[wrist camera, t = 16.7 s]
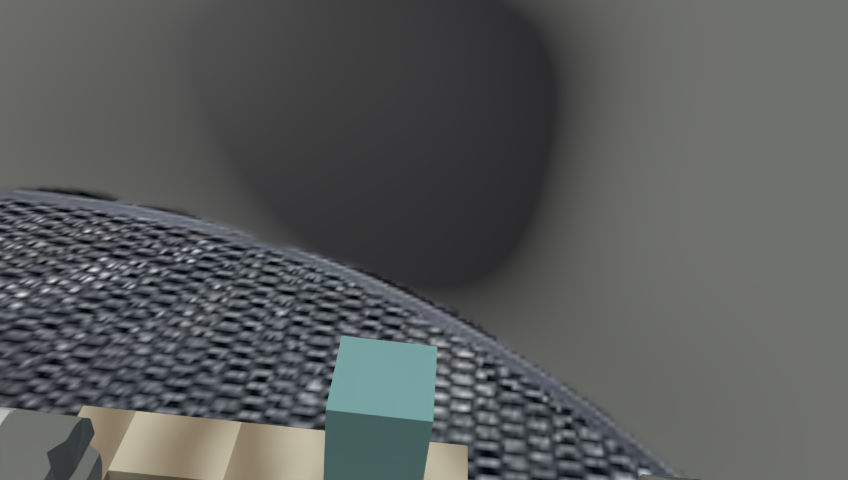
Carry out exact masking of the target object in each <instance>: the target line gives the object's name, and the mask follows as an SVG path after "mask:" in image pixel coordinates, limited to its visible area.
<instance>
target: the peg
mask: <svg viewBox="0 0 848 480" xmlns="http://www.w3.org/2000/svg"><path fill="white" fill-rule="evenodd" d="M436 359H437V347H435V346H426V345H417V344H408V343H400V342H391V341H382V340H373V339H364V338H356V337H347V336H342V337H341V342H340V347H339V351H338V356H337V361H336V365H335V370H334V375H333V379H332V384H331V389H330V393H329V398H328V402H327V407H326V421H325V449H324V477H323V480H423V479H424V473H425V467H426V461H427V455H428V449H429V443H430V437H431V431H432V425H433V413H434V395H435V377H436Z"/></svg>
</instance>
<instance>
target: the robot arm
mask: <svg viewBox="0 0 848 480" xmlns="http://www.w3.org/2000/svg"><path fill="white" fill-rule="evenodd" d="M94 434H95V432H94V428H93V425H92V422H91V419H90V418H83V417H76V416H68V415H60V414H52V413H44V412H37V411H29V410H21V409H13V408H4V407H0V480H102V460H101V456H100V453H99V452H98V451H97V450H96V449H95V448H93V447H92V446H91V445H90V442H91V440H92V438H93V436H94ZM637 480H700V479H689V478H678V477H667V476H656V475H644V474H643V475H641V476H640V477H639V478H637Z"/></svg>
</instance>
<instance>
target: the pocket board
mask: <svg viewBox="0 0 848 480" xmlns="http://www.w3.org/2000/svg"><path fill="white" fill-rule="evenodd" d="M77 417H83V418H90V419H91V422H92V425H93V428H94V432H95V434H94V436H93V438H92V440H91V442H90V445H91V446H92V447H93V448H95V449H96V450H97V451H98V452H99V453H100V456H101V460H102V480H323V477H324V449H325V431H321V430H311V429H301V428H292V427H282V426H273V425H263V424H254V423H244V422H235V421H225V420H216V419H206V418H197V417H187V416H177V415H168V414H158V413H149V412H139V411H130V410H120V409H111V408H101V407H92V406H83V407H82V409H81V411H80V413H79V415H78V416H77ZM423 480H468V459H467V446H464V445H454V444H445V443H435V442H430V443H429V449H428V455H427V461H426V467H425V473H424V479H423Z"/></svg>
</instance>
